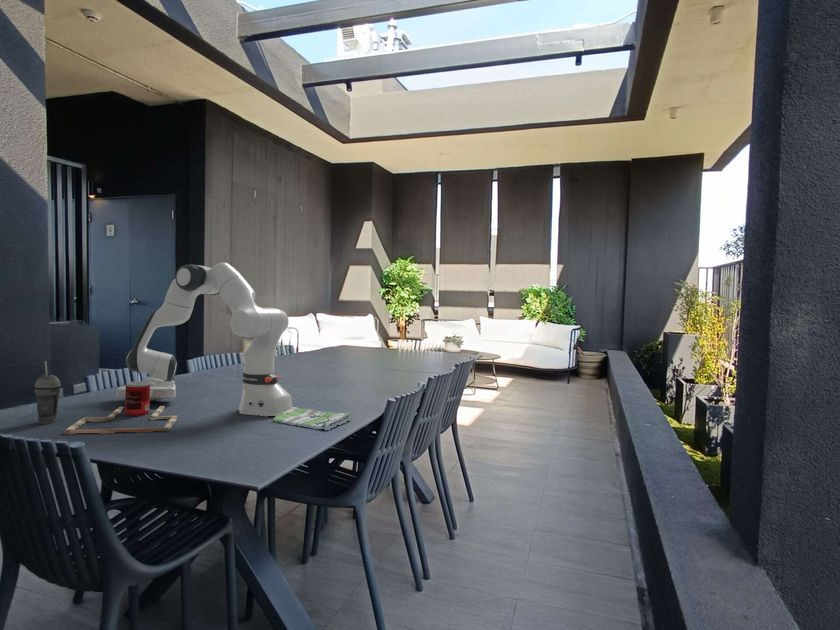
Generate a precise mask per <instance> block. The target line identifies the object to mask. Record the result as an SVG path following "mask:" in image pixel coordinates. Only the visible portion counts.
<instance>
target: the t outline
mask: <svg viewBox="0 0 840 630" xmlns="http://www.w3.org/2000/svg"><path fill="white" fill-rule="evenodd" d="M163 409H164V410H165V406H164V405H159V407H158V408H157V409H156V410H155V411H154V412H153V413H152V414H151V415H150V416H149V421H159V420H158V419H167V420H166V421H167V423H165V425H164V427H159V426H158V427H131V428H130V427H129V428H128V427H127V428H126V427H125V428H124V427H123V428H95V429H93V428H91V429H88V428H85V429H78V428H80V427H81V426H82V424H83V425H84V424H85V423H87V422H86V421H90V422H110V420H111V419H112V420H113V419H114V418H116V417H117V416H118V415H119V414H120V413H122V412H123V411H124V410H125V406H119V407H118V408H116V409H114V411H112V412H111V413H110V414H108V415H107V416H100V417H99V416H98V417H95V416H93V417H92V416H91V417H81V418H80V419H79V420H77V421H76V422H74V423H73V424H71V425H70V426H69V427H67V428H66V429H64V430H63V431H62V432H63V433H62V435H63V434H64V435H75V434H74V433H100V434H116V433H115V432H135V433H154V432H153V431H168V432H169V431H170V430H171V428H172V426H173V425H174V424H175V423H176V421H177V420H178V416H179V415H161V413H162V412H163V411H164V410H163ZM122 410H123V411H122ZM121 411H122V412H121ZM117 414H118V415H117ZM116 415H117V416H116ZM158 415H159V416H158ZM115 416H116V417H115ZM156 419H157V420H156ZM112 420H111V421H112ZM174 422H175V423H174ZM79 426H80V427H79ZM76 428H77V429H76ZM75 429H76V430H75ZM169 429H170V430H169Z"/></svg>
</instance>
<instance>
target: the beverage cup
mask: <svg viewBox="0 0 840 630" xmlns="http://www.w3.org/2000/svg"><path fill="white" fill-rule="evenodd" d="M44 369H45V374H43V375H41V376H40V377H38V378H37V379H36V380H35V383H34V388H33V389H34V392H35V393H34V394H35V397H36V408H37V417H38V423H39V424H42V425H44V424H45V425H47V424H53V423H56V422H57V421H56V420H57V416H58V408H59V399H60V393H61V387H62V383H61V381H60V379H59V378H58V377H57V376H56V375H54V374H48V364H47V360H44Z"/></svg>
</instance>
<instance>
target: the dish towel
mask: <svg viewBox="0 0 840 630" xmlns="http://www.w3.org/2000/svg"><path fill="white" fill-rule="evenodd" d="M297 408H298V409H296V410H294V411H292V412H290V413H288V414H283V415H278V416H276V417H272V419H271V422H272V421H277V422H284V423H293V424H301V425H308V426H316V427H323V428H328V427H329V426H332V425H334V424H336V423H338V422H341V421H343V420H345V419H349V418H351V413H350V412H340V413H337V412H331V411H321V410H320V411H319V410H317V409H312V408H299V407H297ZM314 415H316V416H321V417H315V418H310V416H314ZM327 418H328V419H329V420H332V421H329V422H326V423H324V424H319V425H316V424H315V423H319V422H323V421H327V420H328V419H327Z"/></svg>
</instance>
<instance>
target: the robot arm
mask: <svg viewBox="0 0 840 630" xmlns="http://www.w3.org/2000/svg"><path fill="white" fill-rule="evenodd" d="M199 295H205V296H216V295H219V296H221V298H222V299H223V300H224V302H225V303H226V304H227V306H228V307H229V309H230V311H231V313H232V314H231V317H230V321H229V323H230V328H231V331H232V333H233V334H235V335H237V336H239V337H242V338H243V337H244V338H253V339H252V342H251V344H250V346H249V347H248V348H246V350H245V352H244V355H243V357H244V360H243V364H244V365H243V372H242V381H241V382H242V384H243V385H242V392H241V399H240V402H239V406H238V409H237V410H238V411H239V414H240V415H248V416H258V415H259V417H268V416H275V417H276V416H278V415H283V414H288V413H290V412H292V411H294V410H296V409H298V408H299V407H296V406H293V402H292V400H293V399H292V396H291V394H290V393H289V392H288V391H287V390H286V389H285V388H284V387H282V385H281V384H280V383H279V380H278V379H280V375H277V374H276V372H275V361H276V359H275V358H276V351H277V347H278V345H279V341H280V338H281V336H282V335H283V334H284V332H285V331H286V330H287V328H288V327H289V326H288V325H289V316H288V314H287V313H286V312H285V311H284V310H283V309H279V308H277V307H262V306H261V307H260V306H258V304H257V303H256V301H255V299H256V291H255V290H254V289H253V287H252V286H251V285H250V283H249V282H248V281H247V280H246V279H245V278H244V276H243V275H242V274H241V273H240V272H239V270H237V269H236V268H235V267H233V266H232V264H229V263H228V262H218V263H216V264H215V265H213V266H212V267H209V266H206V265H205V266H204V265H200V264H199V265H198V264H194V263H193V264H192V263H191V264H184V265H182V266H180V267H178V269H177V271H176V273H175V277H174V279H173V280H172V282H171V283H170V285H169V288H168V289H167V292H166V295H165V297H164V300H163V304H162V305H161V307H160V308H158V309H157V310H153V311H152V312H151V313H150V315H149V316H148V318H147V320H146V322H145V323H144V325H143V327H142V329H141V331H140V333H139V335H138V337H137V339H136V340H135V343H134V345H133V346H132V348H131V349H130V351H129V352H128V354H127V356H126V358H125V365H126V368H128V370H130V371H131V372H135V373H143V374H147V375H149V376H147V377H146V378H145V379H143V380H142V381H146V382H150V402H152V401H156V400H160V399H166V398H167V399H168V398H169V399H170V398H175V397H176V395H177V394H176V393H177V391H176V388H177V386H176V384H175V383H176V382H175V380H173V379H175V378H174V377H175V376H176V373H177V370H178V360H177V358H176V357H175V355H174V354H171V353H167V352H164V351H163V352H162V351H157V350H154V349H150V348H148V347H147V346H148V344H149V342H150V340H151V338H152V336H153V334H154V332H155V330H157V329H159V328H161V327H171V326H179V325H182V324H184V323H186V322H187V321H188V320H190V317H191V315H192V313H193V310H194V306H195V303H196V300H197V297H198V296H199ZM115 393H116V394H115V397H116V398H117V399H125V397H126V385H123V386H120V387H117V388H116V391H115ZM275 417H274V418H275Z"/></svg>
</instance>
